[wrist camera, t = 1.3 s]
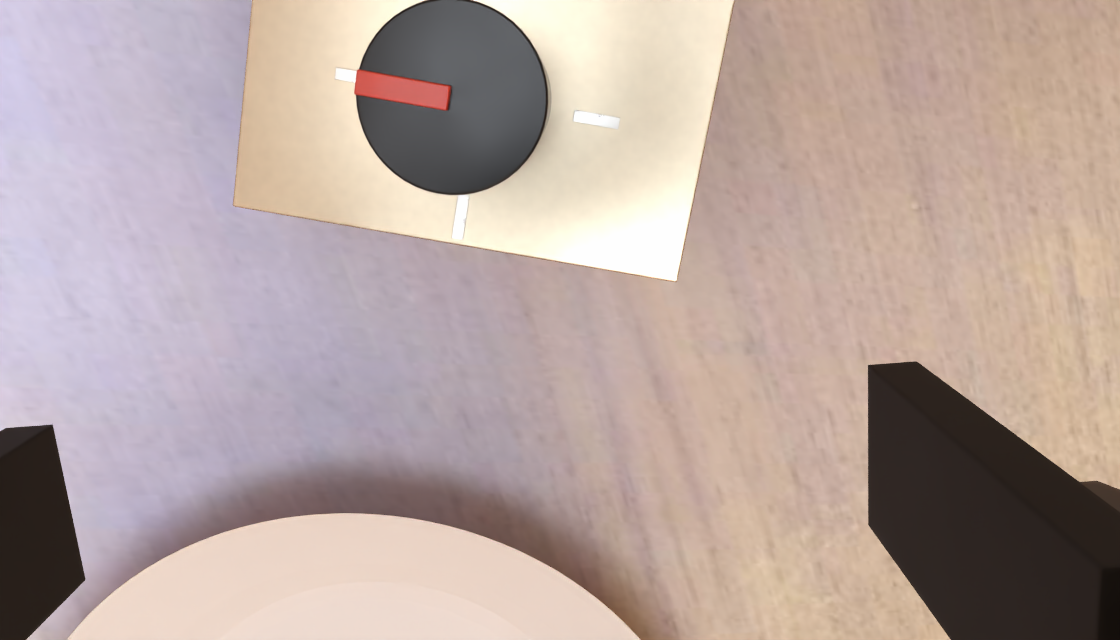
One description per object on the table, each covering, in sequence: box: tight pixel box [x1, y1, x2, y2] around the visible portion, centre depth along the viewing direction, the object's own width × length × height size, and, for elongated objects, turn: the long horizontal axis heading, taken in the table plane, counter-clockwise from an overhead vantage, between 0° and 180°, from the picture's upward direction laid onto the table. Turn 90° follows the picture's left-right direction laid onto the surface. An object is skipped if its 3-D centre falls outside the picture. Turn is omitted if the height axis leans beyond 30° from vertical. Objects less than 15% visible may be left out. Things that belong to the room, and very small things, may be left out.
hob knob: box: [354, 0, 552, 195], centre depth 25 cm, size 4×4×7 cm
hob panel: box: [233, 0, 735, 282], centre depth 30 cm, size 14×9×3 cm, turn 80°
